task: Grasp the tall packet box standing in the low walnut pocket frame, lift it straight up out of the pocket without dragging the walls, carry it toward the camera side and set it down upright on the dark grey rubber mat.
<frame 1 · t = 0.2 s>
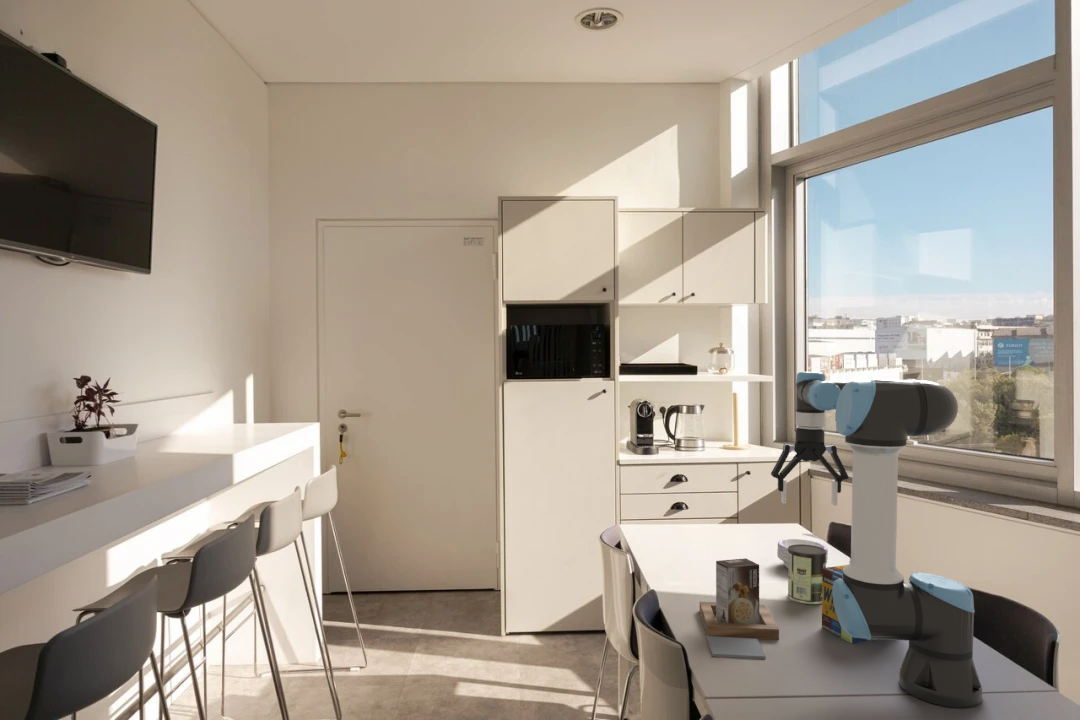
hand: (808, 503, 198), 28 cm above the table, fingers open, 13 cm apart
protein box: (859, 632, 179), on the table
rubber mat: (735, 648, 169), on the table
paper bowls: (802, 569, 230), on the table
pocket block: (737, 624, 183), on the table
coffee can: (806, 598, 203), on the table
coffee box: (737, 625, 183), resting in pocket block
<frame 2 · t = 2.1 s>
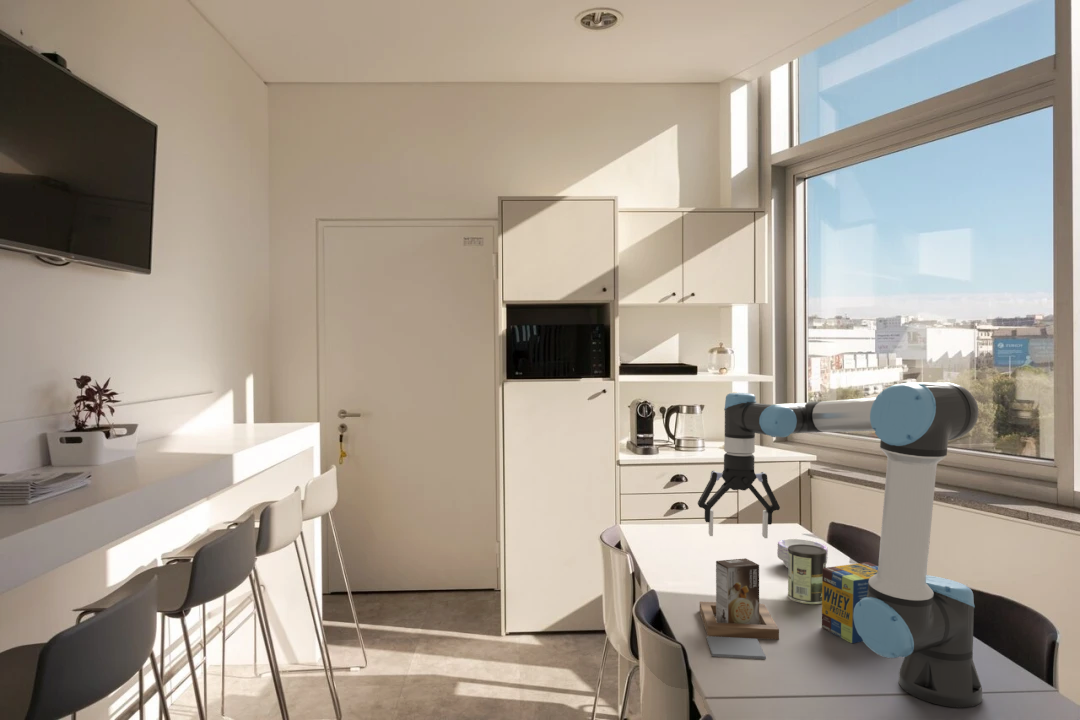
hand: (737, 535, 183), 23 cm above the table, fingers open, 13 cm apart
nothing on the table moved.
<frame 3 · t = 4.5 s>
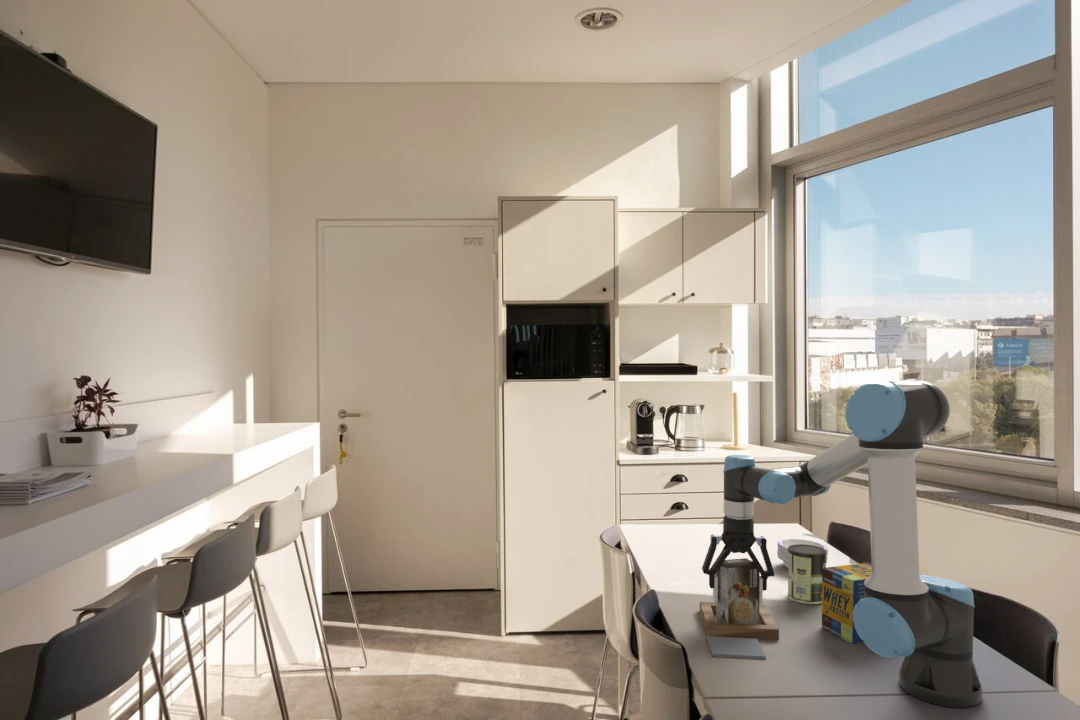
hand: (737, 601, 183), 6 cm above the table, fingers closed on coffee box, 10 cm apart
coffee box: (737, 625, 183), resting in pocket block, touching gripper
everything else where it was.
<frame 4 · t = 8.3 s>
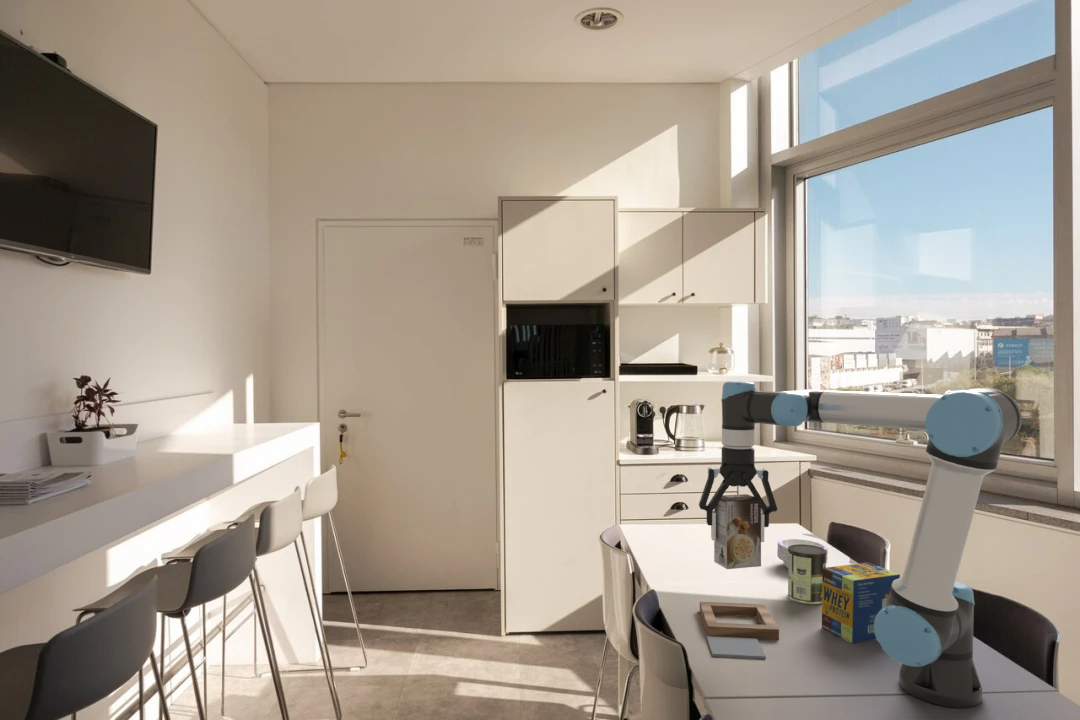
hand: (737, 539, 169), 26 cm above the table, fingers closed on coffee box, 10 cm apart
coffee box: (737, 565, 169), point 20 cm above the table, touching gripper
everything else where it was.
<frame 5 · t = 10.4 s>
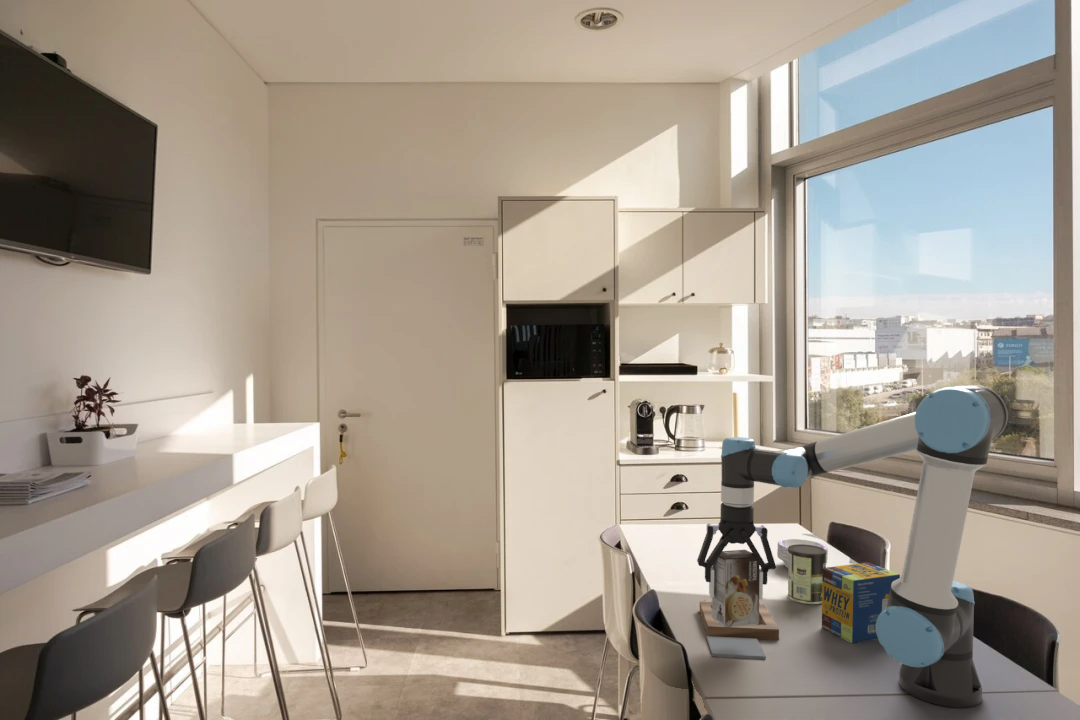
hand: (735, 596, 169), 12 cm above the table, fingers closed on coffee box, 10 cm apart
coffee box: (734, 621, 169), point 6 cm above the table, touching gripper
everything else where it was.
when the fingers open (8 cm above the table, at t = 12.2 s): coffee box drops 1 cm, resting on rubber mat.
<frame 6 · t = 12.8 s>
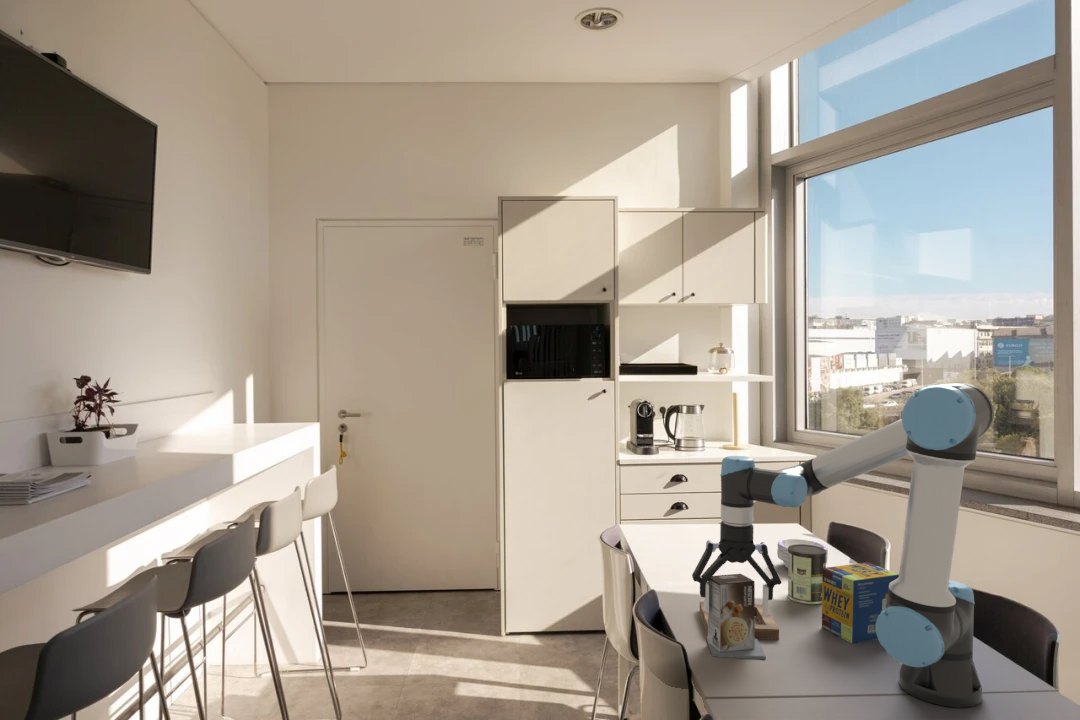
hand: (735, 611, 169), 9 cm above the table, fingers open, 13 cm apart
coffee box: (730, 646, 169), resting on rubber mat
everything else where it was.
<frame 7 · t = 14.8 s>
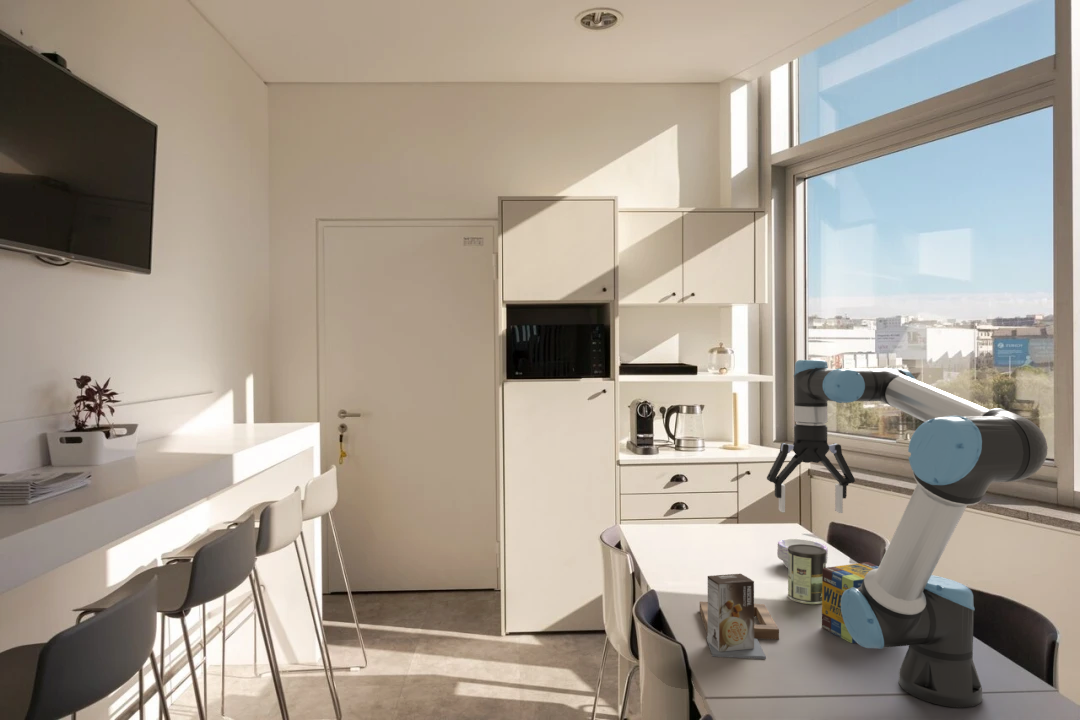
hand: (810, 511, 172), 32 cm above the table, fingers open, 13 cm apart
nothing on the table moved.
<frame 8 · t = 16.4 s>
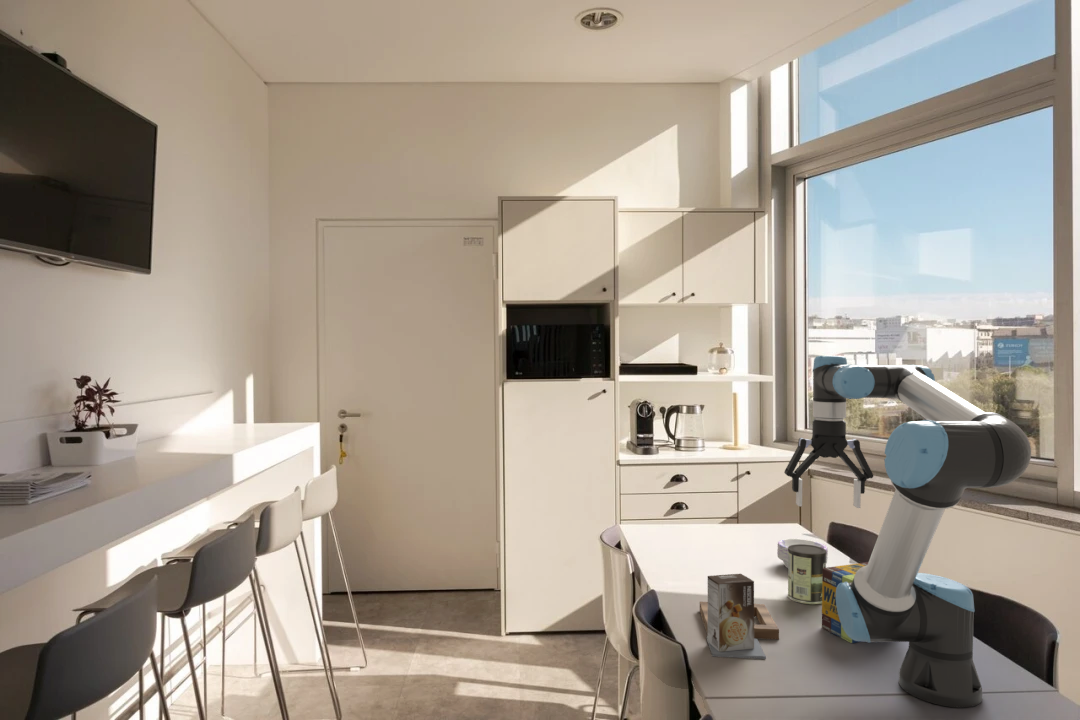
hand: (827, 506, 174), 33 cm above the table, fingers open, 13 cm apart
nothing on the table moved.
at the end: coffee box inside the target area on the rubber mat (1.2 cm from its centre), point 0.4 cm above the rubber mat's base; coffee box tilted 0°; the gripper is holding nothing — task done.
